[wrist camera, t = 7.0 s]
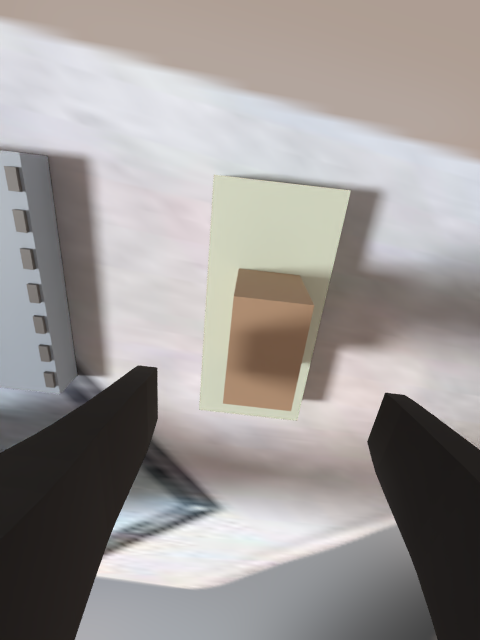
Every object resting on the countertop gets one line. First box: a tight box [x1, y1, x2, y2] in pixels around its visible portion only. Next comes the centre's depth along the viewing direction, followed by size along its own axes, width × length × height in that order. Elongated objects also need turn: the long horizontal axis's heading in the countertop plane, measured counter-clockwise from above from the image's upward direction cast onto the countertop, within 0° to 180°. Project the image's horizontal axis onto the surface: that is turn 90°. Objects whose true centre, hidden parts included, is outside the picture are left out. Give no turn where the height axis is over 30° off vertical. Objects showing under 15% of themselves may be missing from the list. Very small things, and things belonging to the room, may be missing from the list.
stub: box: [199, 175, 351, 421], centre depth 15 cm, size 13×6×6 cm, turn 174°
